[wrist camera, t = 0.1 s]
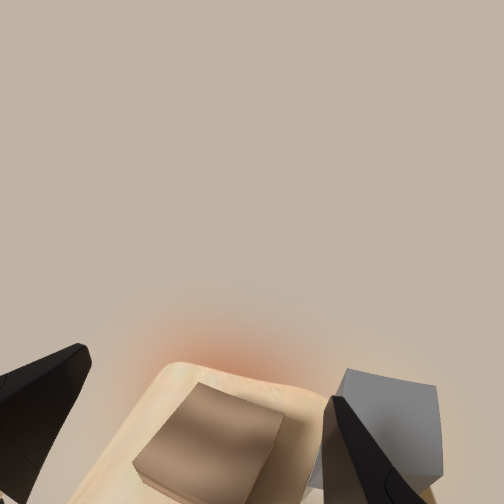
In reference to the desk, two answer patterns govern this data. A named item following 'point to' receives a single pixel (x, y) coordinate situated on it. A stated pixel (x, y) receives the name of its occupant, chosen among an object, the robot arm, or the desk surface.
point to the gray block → (396, 425)
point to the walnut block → (210, 449)
